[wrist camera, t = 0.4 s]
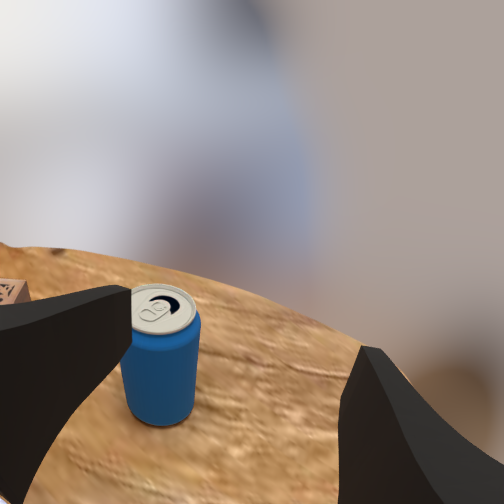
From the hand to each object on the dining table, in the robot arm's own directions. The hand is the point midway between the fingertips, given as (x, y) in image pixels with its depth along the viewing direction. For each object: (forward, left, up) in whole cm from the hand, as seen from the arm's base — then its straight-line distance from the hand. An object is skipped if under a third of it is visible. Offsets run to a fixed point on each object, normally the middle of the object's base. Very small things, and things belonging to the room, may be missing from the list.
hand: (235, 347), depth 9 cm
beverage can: (+10, +7, -20) cm, 23 cm away
